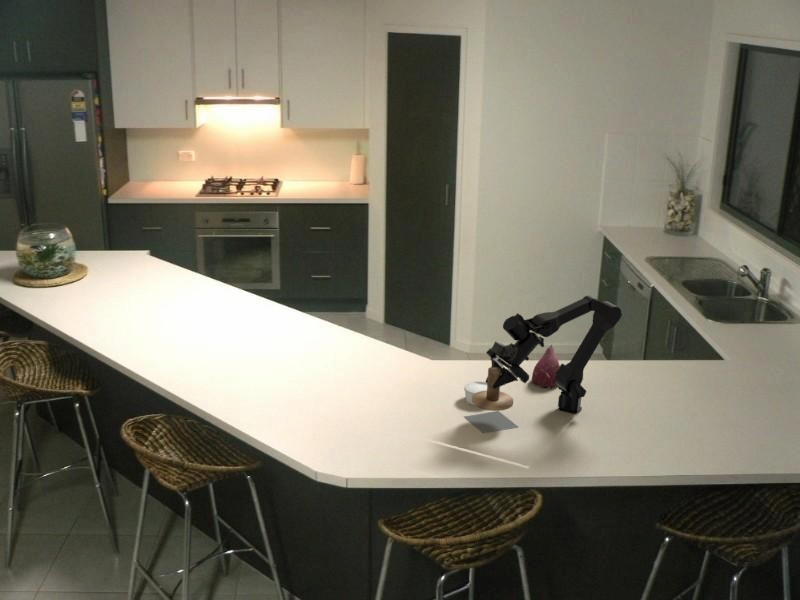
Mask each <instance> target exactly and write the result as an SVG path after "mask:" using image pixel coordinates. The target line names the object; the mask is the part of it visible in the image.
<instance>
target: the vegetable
mask: <svg viewBox="0 0 800 600" xmlns="http://www.w3.org/2000/svg"><path fill="white" fill-rule="evenodd" d="M560 365H561V364H560V363H559V360H558V357H557V355H556V352H555V347H554V346H553V344H551V345H549V346H548V347H546V350H545V352H544V353H543V355H542V357H540V359H539V360H538V361H537V363H536V364H535V366H534V367H533V371H532V375H531V382H532V385H534V384H535V385H534V386H536V385H537V386H536V387H538V386H539V387H538V388H541V387H555V386H558V385H557V384H556V383H555V376H556V374H555V373H556V372H557V371H558V370H559V367H560ZM555 388H556V387H555Z"/></svg>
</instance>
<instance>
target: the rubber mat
mask: <svg viewBox="0 0 800 600" xmlns="http://www.w3.org/2000/svg"><path fill="white" fill-rule="evenodd" d="M463 418H464V419H465V420H467V422H469V423H470V424H471V425H473V427H475V428H476V429H477V430H478V431H479V432H480V433H481V434H487V433H494V432H499V431H500V432H501V431H505V430H511V429H518V428H519V425H517V424H516V423H514V422H513V421H512V420H511V419H509V418H508V417H507V416H505V415H504V414H503V413H502V412H501V411H490V412H483V413H478V414H477V413H476V414H471V415H466V416H463Z"/></svg>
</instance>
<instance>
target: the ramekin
mask: <svg viewBox="0 0 800 600" xmlns="http://www.w3.org/2000/svg"><path fill="white" fill-rule="evenodd" d="M463 388H464V393H465V394H464V395H465V396H464V397H465V401H466V402H467V403H468V404H470V405H473V406H475V405H474V404H473V403H472V396H473V395H474V394H475V393H477V392H480V391H487V383H486V382H485V381H480V380H478V381H477V380H476V381H470V382H467V383H465V385H464V387H463Z"/></svg>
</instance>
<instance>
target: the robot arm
mask: <svg viewBox="0 0 800 600" xmlns="http://www.w3.org/2000/svg"><path fill="white" fill-rule="evenodd" d="M592 311H593V314H592V324H591V327H590V328H589V330H588V331H587V333H586V335H585V336H584V338H583V340H582V342H581V343H580V345H579V347H578V348H577V350H576V351H575V353H574V355H573V357H572V358H571V359H570V361H569V362H568V363H566V364H564V363H561V364H559V365H560V367H559V370H558V371H557V372H556V373H555V374H556V376H555V383H556V384H557V385H558V387H557V388H558V390H560V391H561V392H560V395H558V402H557V410H559V412H565V413H568V414H573V415H577V413H578V414H579V413H580V412H581V411H582V409H583V408H582V406H581V404H582V403H581V402H582V398H583V397H585V395H586V394H587V390H586V389H585V388H584V387H583V386H582V382H583V380H584V369H585V368H586V366H587V365H588V363H589V362H590V359H591V358H592V356H593V354H594V353H595V351H596V350H597V348H598V346H599V344H600V343H601V341H602V339H603V337H604V336H605V334H606V332H608V331H610V330H611V329H613V328H614V327H615V326H616V325H617V324H618V322H620V320H621V318H622V310H621V308H620V307H619V306H617V305H615V304H614V303H611V302H610V301H606V300H603V301H599V300H598V299H597V298H595V297H593V296H591V295H585V296H583V297H582V298H581V299H578V300H577V301H574V302H572V303H570V304H568V305H566V306H564V307H562V308H560V309H557V310H555V311H549V312H541V313H537V314H536V315H534V316H533V317H531V318H527V319H524V317H523V316H522V315H521V313H520V314H519V313H516V314H515V315H512V316H510V317H508V318H506V319H505V320H504V322H503V324H502V328H503V330H504V331H505V332H506V333H507V334H508V335H509V336H510V337H511V338H512V339H513V341H516V342H515V343H512V342H511V343H509V344H504V343H501V342H498V341H494V343H493V345H492V346H491V348H488V350H487V351H486V354H487V356H489V358H490V361H491V367H497V368H500V369H501V375H500V377H499V378H498V379H497V380H496V382H495V383H494V385H493V386H492V387H493V388H494V389H496V388H498V387H500V388H501V387H502V386H505V385H507V384H510V383H512V382H518V381H519V380H520V381H521V382H522V383H524V384H526V383H527V382H528V381H529V380H530V374H529V373H527V372H526V371H525V370H524V369H523V367H521V364H522V363H523V362H524V361H527V362H528V361H529V360H530V358H529V355H531V353H532V352H533V351H534V350H535V349H536V348H537V346H539V347H541V348H544V347H545V343H544V341H545V339H544V338H548V337H551V336H552V335H554V334H555V333H556V332H558V331H559V330H560V328H561V327H562V326H563V325H565V324H567V323H569V322H571V321H573V320H575V319H577V318H580V317H582V316H584V315H586V314H588V313H590V312H592ZM539 335H540V336H539ZM518 379H519V380H518ZM487 381H488V376H486V379H485V381H484V382H486V383H487Z"/></svg>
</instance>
